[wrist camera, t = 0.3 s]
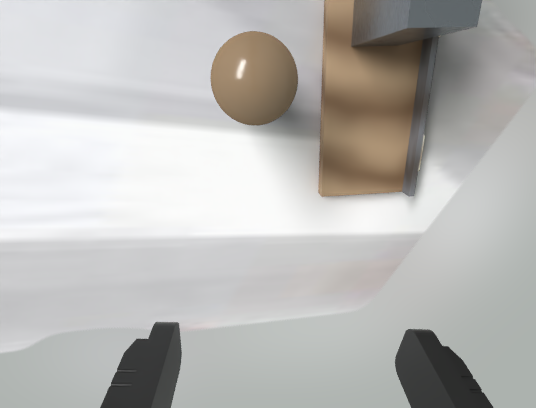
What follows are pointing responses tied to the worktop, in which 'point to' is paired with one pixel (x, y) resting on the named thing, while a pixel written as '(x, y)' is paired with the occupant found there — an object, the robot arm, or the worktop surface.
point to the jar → (254, 78)
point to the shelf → (371, 109)
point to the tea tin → (410, 20)
